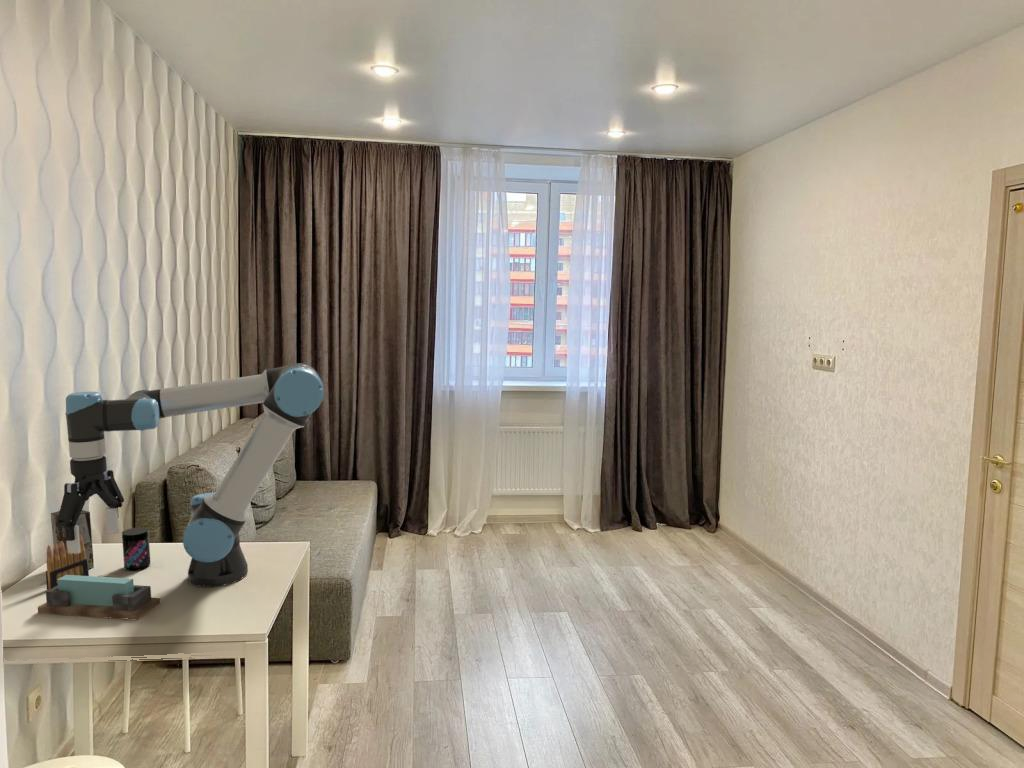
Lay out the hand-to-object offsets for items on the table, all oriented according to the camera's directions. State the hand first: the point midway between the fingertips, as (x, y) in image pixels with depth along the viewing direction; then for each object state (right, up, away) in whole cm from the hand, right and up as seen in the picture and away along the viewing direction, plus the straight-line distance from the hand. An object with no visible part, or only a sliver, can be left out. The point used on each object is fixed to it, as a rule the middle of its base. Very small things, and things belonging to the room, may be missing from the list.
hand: (94, 542), depth 178 cm
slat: (0, -15, +2) cm, 15 cm away
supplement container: (-4, -13, +29) cm, 32 cm away
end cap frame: (0, -17, +2) cm, 17 cm away
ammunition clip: (-17, -15, +18) cm, 28 cm away
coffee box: (-21, -13, +28) cm, 38 cm away
